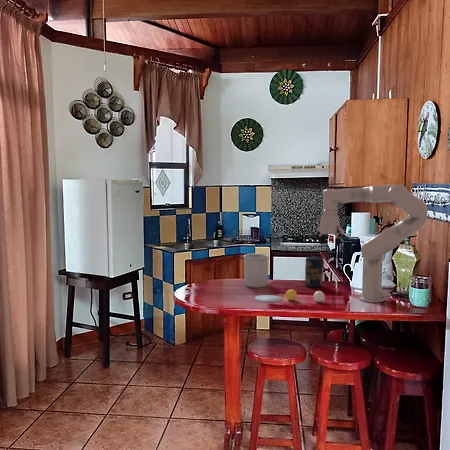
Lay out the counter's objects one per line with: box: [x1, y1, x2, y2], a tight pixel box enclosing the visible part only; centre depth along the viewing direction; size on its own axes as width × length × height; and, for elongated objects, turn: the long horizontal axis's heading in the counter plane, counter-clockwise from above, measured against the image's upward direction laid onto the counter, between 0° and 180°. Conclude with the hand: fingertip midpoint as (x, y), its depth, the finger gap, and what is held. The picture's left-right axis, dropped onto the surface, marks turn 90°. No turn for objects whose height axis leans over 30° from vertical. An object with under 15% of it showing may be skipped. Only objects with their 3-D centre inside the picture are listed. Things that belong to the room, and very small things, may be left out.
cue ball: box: [313, 290, 326, 303], centre depth 228 cm, size 6×6×6 cm
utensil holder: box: [243, 253, 270, 288], centre depth 265 cm, size 15×15×18 cm
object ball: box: [285, 289, 298, 301], centre depth 232 cm, size 6×6×6 cm
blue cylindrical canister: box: [304, 255, 323, 288], centre depth 261 cm, size 10×10×18 cm
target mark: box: [254, 294, 283, 303], centre depth 235 cm, size 14×14×1 cm
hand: (330, 244), depth 239 cm, fingers open, 9 cm apart
